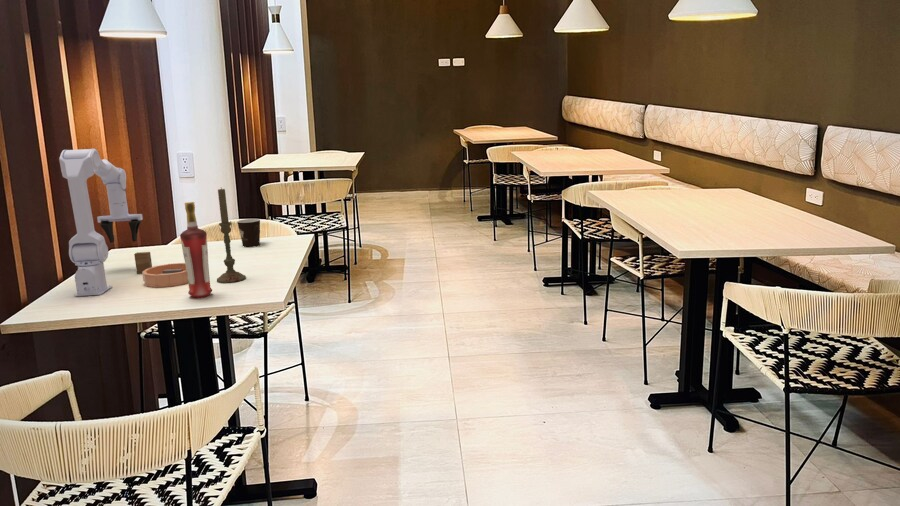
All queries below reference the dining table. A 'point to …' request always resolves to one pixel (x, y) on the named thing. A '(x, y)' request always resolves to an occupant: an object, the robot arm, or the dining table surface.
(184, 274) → the faceted copper bowl
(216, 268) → the dining table surface
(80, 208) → the robot arm
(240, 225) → the coffee mug
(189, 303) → the dining table surface
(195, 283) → the liquor
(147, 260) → the brown rectangular block
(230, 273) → the candlestick holder
